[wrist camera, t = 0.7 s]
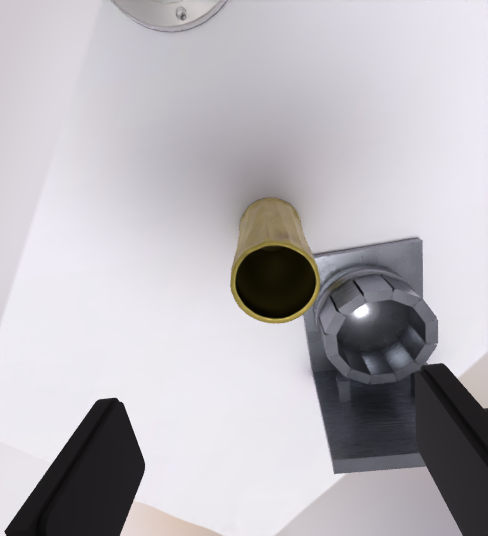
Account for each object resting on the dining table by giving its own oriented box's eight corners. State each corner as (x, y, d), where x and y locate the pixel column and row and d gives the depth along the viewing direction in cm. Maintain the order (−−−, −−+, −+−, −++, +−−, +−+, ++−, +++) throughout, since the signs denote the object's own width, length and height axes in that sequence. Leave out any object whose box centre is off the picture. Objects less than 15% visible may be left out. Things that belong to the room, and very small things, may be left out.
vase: (244, 193, 31) (228, 224, 17) (306, 202, 30) (340, 241, 17) (235, 252, 33) (216, 322, 19) (294, 261, 33) (316, 337, 19)
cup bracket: (295, 258, 32) (312, 314, 21) (417, 237, 31) (505, 286, 20) (312, 376, 37) (334, 473, 26) (419, 364, 36) (490, 461, 25)
